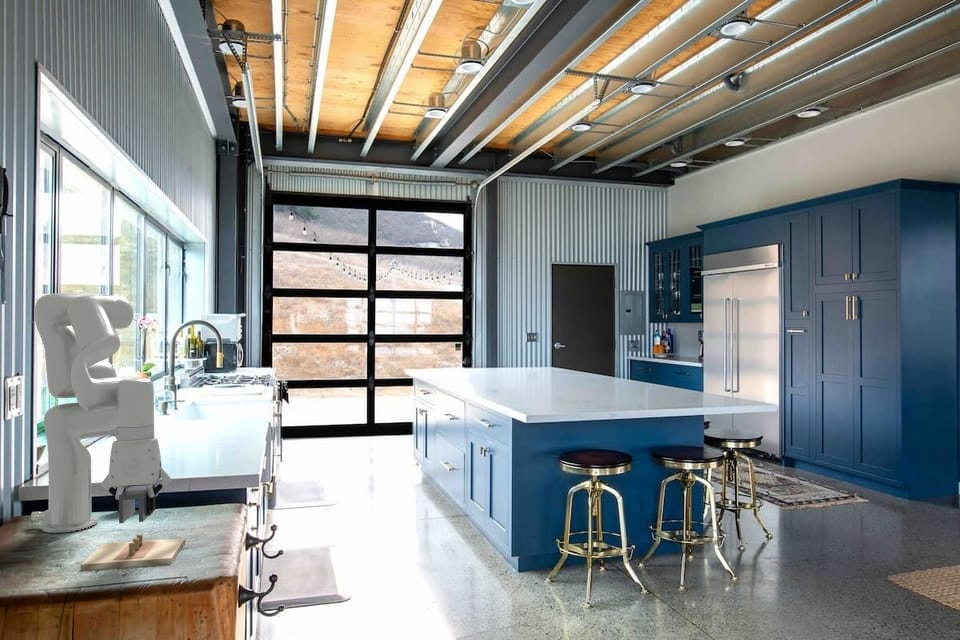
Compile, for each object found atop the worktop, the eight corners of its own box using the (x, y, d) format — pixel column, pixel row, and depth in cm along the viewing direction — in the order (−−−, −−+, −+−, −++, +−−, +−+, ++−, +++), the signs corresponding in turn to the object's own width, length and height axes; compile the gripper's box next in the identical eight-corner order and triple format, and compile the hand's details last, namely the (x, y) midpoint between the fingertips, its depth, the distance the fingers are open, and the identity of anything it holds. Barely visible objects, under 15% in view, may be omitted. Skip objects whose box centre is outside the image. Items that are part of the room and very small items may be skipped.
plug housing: (119, 523, 149) (118, 495, 149) (131, 512, 158) (130, 486, 158) (142, 521, 150) (142, 494, 150) (153, 511, 159) (153, 485, 159)
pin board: (80, 570, 145) (80, 552, 145) (102, 548, 159) (102, 532, 159) (171, 563, 149) (171, 546, 149) (185, 543, 163) (185, 527, 163)
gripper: (88, 438, 148) (89, 522, 148) (172, 434, 152) (173, 516, 152) (100, 433, 156) (101, 513, 156) (179, 429, 159) (180, 508, 159)
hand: (136, 514), depth 154 cm, fingers closed on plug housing, 4 cm apart
